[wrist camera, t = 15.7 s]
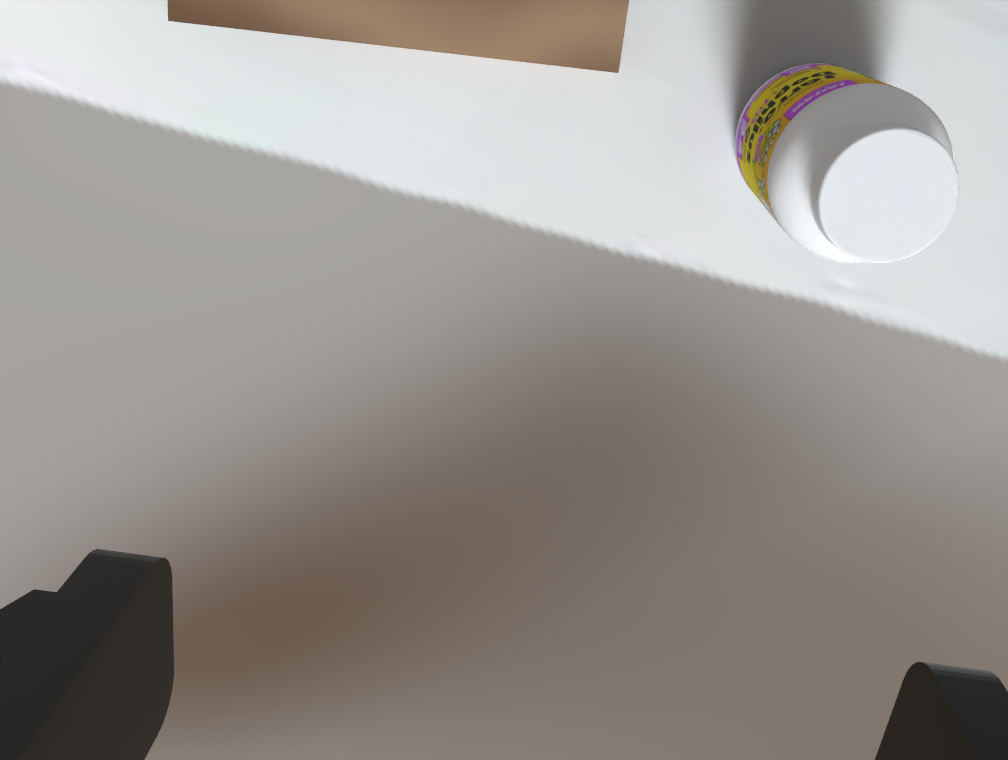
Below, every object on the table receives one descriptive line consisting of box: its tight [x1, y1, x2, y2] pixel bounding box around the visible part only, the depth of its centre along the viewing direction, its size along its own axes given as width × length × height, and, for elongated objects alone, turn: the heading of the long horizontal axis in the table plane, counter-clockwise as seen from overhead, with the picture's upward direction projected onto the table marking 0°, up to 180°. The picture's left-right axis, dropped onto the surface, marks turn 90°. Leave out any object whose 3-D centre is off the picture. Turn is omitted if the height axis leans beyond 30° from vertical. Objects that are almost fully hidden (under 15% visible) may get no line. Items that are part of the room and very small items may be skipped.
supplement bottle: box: [735, 63, 959, 263], centre depth 39 cm, size 7×7×13 cm
